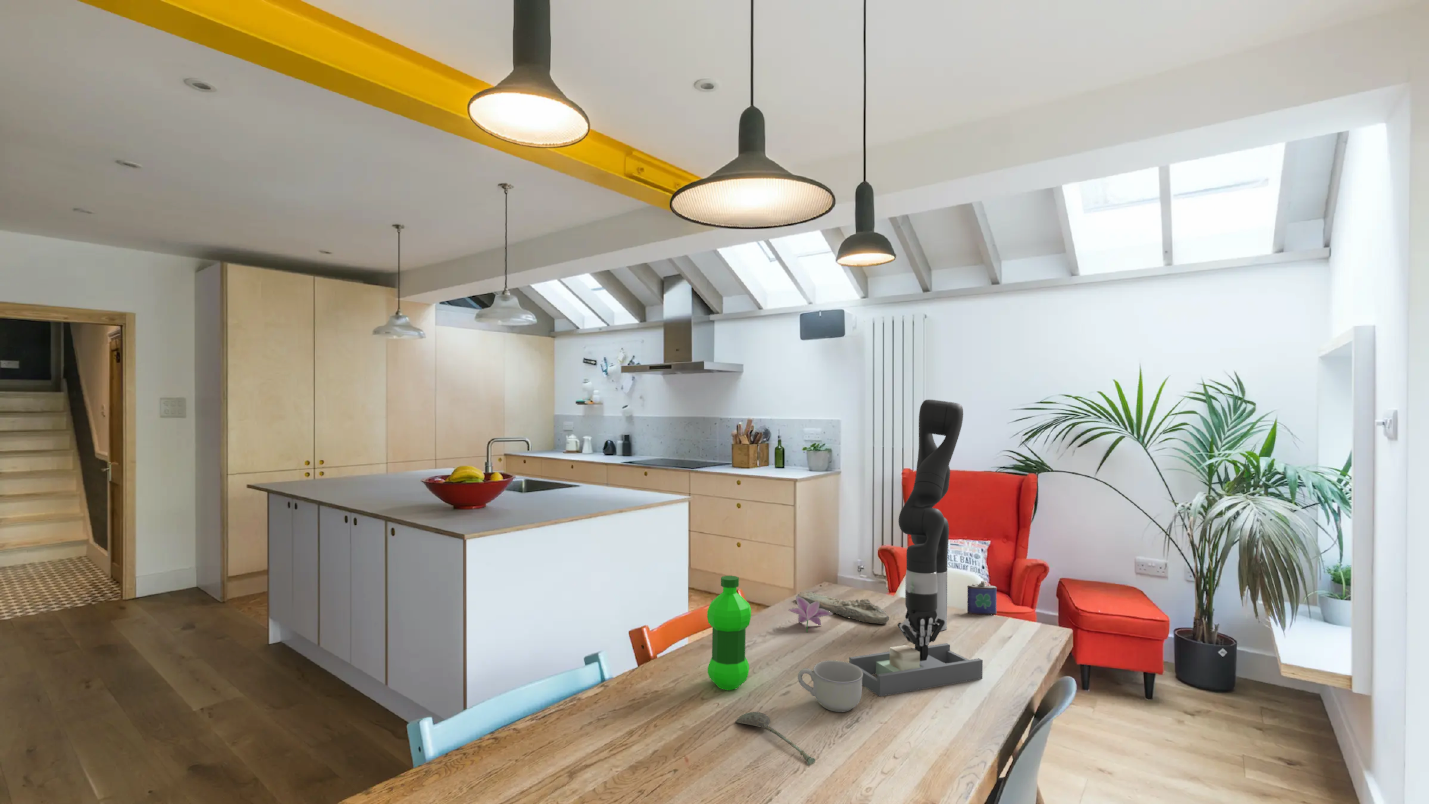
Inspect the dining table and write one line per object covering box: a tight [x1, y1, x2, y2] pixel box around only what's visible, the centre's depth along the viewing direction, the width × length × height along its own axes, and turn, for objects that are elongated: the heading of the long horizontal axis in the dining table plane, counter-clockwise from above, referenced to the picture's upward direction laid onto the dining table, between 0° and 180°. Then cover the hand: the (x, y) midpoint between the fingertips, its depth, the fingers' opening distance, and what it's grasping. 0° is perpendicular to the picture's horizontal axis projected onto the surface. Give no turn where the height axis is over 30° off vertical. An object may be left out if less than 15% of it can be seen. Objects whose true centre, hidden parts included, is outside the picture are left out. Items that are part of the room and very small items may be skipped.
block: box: [889, 644, 920, 671], centre depth 159 cm, size 5×5×4 cm
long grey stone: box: [797, 591, 890, 625], centre depth 213 cm, size 35×5×10 cm
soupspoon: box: [735, 711, 816, 766], centre depth 128 cm, size 22×3×7 cm
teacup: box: [797, 659, 863, 713], centre depth 144 cm, size 14×11×8 cm
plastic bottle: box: [706, 575, 752, 691], centre depth 153 cm, size 10×10×25 cm
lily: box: [788, 595, 834, 633], centre depth 195 cm, size 12×12×10 cm
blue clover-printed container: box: [966, 580, 998, 616], centre depth 213 cm, size 9×3×11 cm, turn 88°
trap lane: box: [848, 643, 984, 697], centre depth 160 cm, size 12×30×4 cm, turn 112°
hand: (921, 659), depth 160 cm, fingers closed
